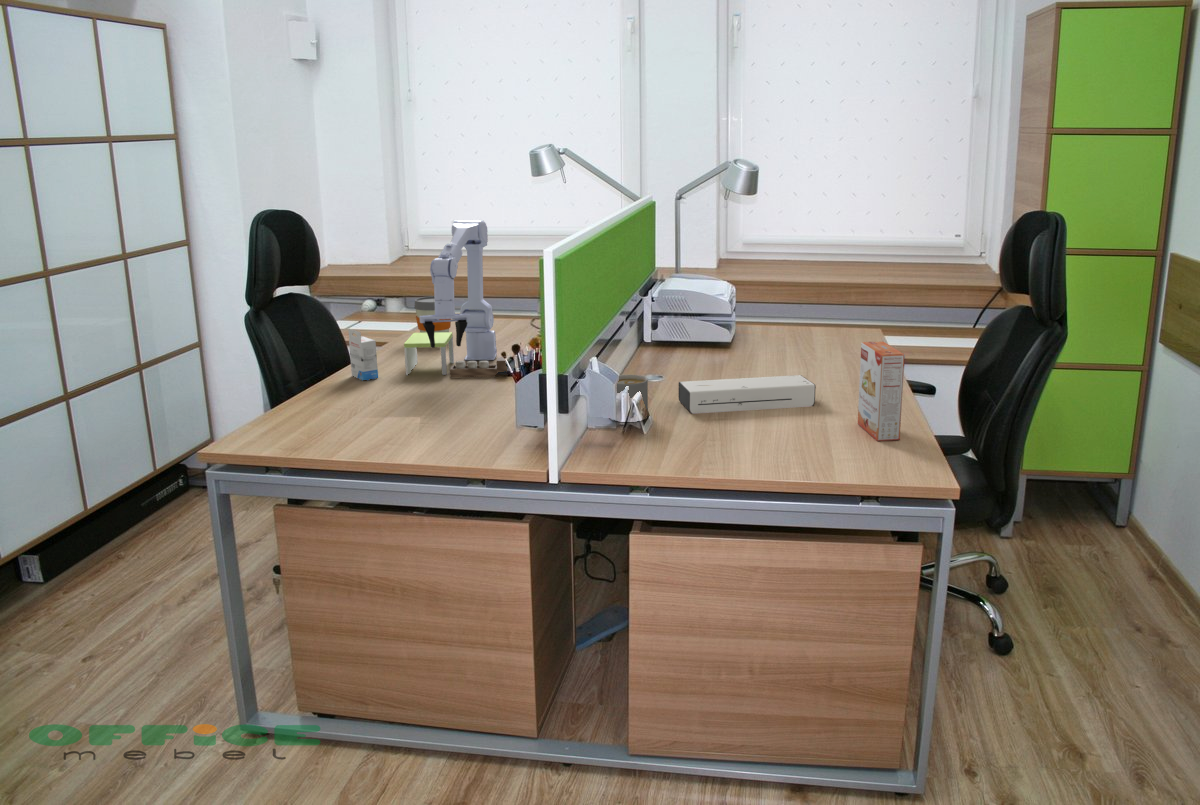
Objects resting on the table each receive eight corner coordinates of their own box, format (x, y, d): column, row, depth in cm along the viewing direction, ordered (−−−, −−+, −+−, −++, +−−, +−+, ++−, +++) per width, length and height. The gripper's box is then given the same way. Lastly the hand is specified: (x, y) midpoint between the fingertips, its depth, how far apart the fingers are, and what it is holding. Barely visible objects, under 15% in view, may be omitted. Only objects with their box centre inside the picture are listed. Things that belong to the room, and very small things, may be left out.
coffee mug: (640, 410, 264) (640, 373, 261) (653, 420, 255) (653, 382, 252) (591, 415, 261) (590, 377, 258) (601, 425, 251) (601, 386, 249)
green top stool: (453, 362, 320) (452, 332, 317) (446, 374, 304) (444, 343, 302) (415, 362, 320) (413, 332, 317) (406, 375, 305) (403, 343, 302)
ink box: (379, 378, 301) (375, 330, 297) (364, 381, 298) (360, 332, 294) (366, 373, 308) (362, 325, 304) (350, 376, 304) (347, 328, 301)
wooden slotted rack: (508, 373, 306) (508, 356, 304) (507, 377, 301) (506, 360, 300) (452, 373, 306) (451, 357, 305) (450, 377, 301) (449, 361, 300)
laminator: (688, 415, 261) (688, 392, 259) (677, 402, 272) (677, 380, 271) (814, 407, 266) (815, 384, 264) (798, 395, 278) (799, 373, 276)
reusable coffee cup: (450, 345, 344) (448, 302, 340) (413, 346, 344) (410, 302, 340) (456, 338, 356) (453, 295, 352) (420, 338, 356) (417, 296, 352)
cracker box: (855, 424, 249) (860, 341, 244) (879, 423, 250) (884, 340, 244) (875, 441, 236) (880, 354, 230) (900, 440, 236) (906, 353, 231)
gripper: (422, 302, 287) (424, 349, 290) (472, 300, 293) (473, 347, 296) (417, 300, 294) (418, 346, 296) (465, 298, 299) (467, 343, 302)
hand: (445, 346), depth 296 cm, fingers open, 7 cm apart
